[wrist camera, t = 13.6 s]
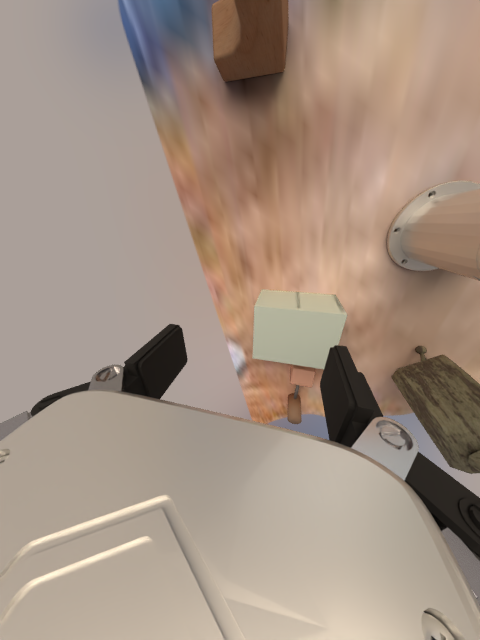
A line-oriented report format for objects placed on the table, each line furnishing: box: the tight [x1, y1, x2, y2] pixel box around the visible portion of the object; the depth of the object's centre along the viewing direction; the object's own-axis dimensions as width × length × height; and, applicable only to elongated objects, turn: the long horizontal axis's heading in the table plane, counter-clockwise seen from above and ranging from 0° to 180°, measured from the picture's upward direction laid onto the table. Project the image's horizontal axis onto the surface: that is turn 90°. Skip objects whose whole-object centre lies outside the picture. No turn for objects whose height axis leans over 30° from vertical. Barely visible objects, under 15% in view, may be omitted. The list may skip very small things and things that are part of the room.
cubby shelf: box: [253, 289, 347, 369], centre depth 38 cm, size 15×12×10 cm
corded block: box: [288, 364, 316, 424], centre depth 48 cm, size 5×17×7 cm, turn 179°
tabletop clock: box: [392, 346, 480, 474], centre depth 30 cm, size 14×9×25 cm, turn 40°
